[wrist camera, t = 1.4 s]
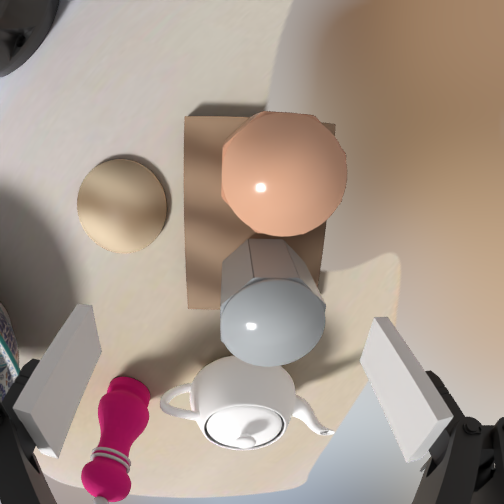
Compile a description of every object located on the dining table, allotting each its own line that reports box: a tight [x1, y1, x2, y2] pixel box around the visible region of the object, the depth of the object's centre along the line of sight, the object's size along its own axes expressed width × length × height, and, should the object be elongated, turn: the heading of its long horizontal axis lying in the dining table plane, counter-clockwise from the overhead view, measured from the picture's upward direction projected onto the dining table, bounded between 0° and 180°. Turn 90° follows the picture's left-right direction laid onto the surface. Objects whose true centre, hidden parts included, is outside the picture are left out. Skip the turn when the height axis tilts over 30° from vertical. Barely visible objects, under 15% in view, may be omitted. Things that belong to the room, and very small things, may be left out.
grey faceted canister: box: [220, 239, 326, 367], centre depth 30 cm, size 8×8×9 cm
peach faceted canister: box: [221, 111, 347, 237], centre depth 25 cm, size 8×8×9 cm
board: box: [184, 116, 335, 309], centre depth 32 cm, size 20×14×2 cm
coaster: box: [77, 159, 167, 253], centre depth 31 cm, size 10×10×1 cm
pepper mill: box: [81, 377, 150, 504], centre depth 32 cm, size 7×7×20 cm
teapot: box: [160, 356, 335, 450], centre depth 37 cm, size 22×14×11 cm, turn 76°
